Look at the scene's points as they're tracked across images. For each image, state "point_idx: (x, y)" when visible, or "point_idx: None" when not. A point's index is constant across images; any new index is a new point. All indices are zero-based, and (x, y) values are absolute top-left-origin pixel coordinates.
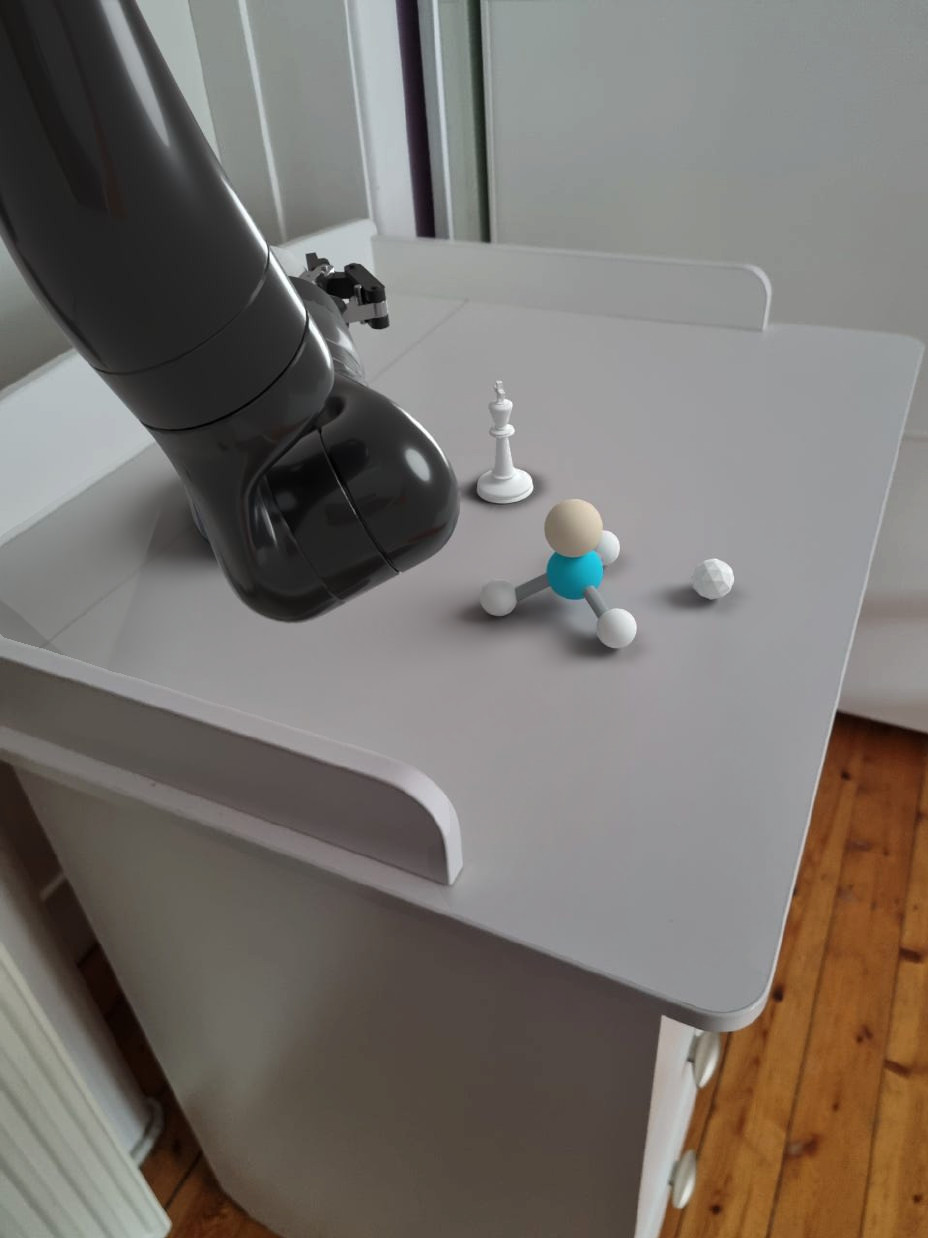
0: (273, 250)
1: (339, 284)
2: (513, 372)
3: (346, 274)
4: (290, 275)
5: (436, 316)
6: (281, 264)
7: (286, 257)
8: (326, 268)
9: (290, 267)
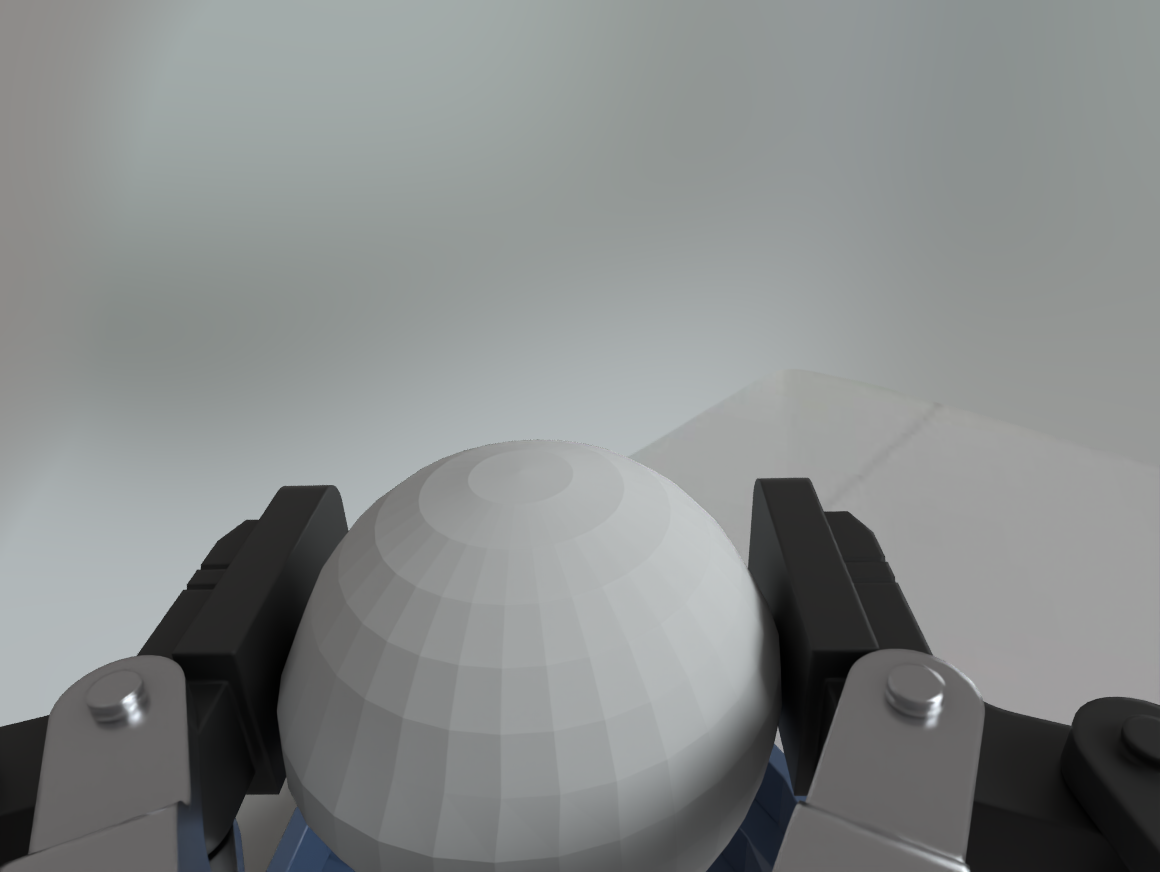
0: (591, 507)
1: (1011, 845)
2: (1076, 601)
3: (1105, 821)
4: (667, 708)
5: (887, 426)
6: (621, 628)
7: (663, 567)
8: (933, 714)
9: (677, 648)
